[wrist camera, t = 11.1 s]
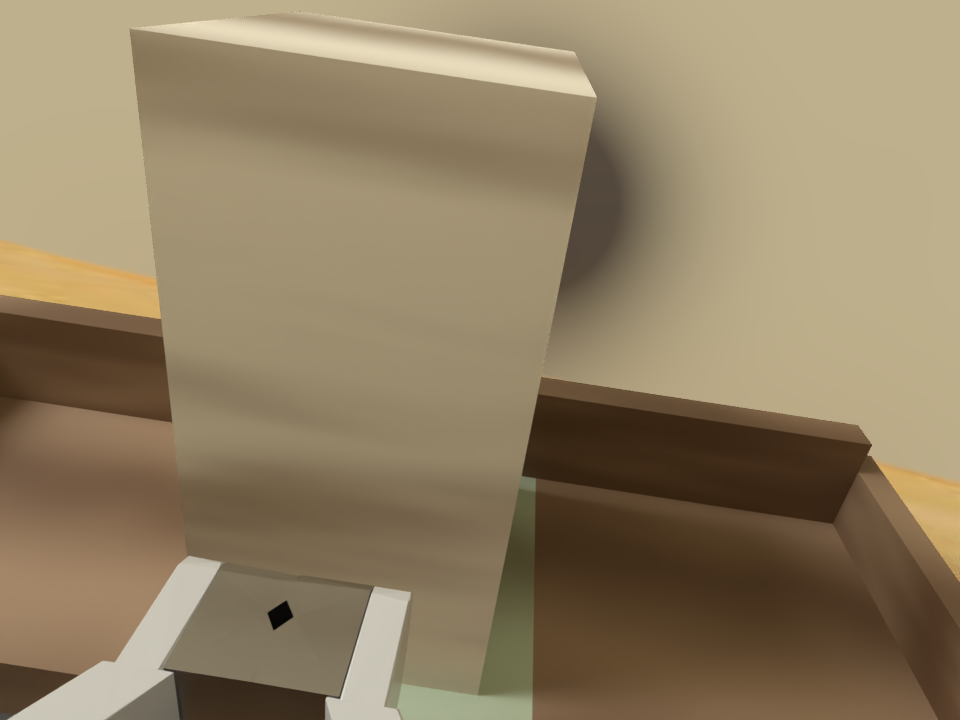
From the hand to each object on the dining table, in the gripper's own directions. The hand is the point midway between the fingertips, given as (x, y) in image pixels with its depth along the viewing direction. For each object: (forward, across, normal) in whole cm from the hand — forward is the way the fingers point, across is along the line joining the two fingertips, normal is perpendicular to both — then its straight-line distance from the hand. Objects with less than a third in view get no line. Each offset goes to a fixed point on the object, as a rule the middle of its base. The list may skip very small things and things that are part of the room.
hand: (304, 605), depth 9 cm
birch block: (+6, 0, +6) cm, 9 cm away
